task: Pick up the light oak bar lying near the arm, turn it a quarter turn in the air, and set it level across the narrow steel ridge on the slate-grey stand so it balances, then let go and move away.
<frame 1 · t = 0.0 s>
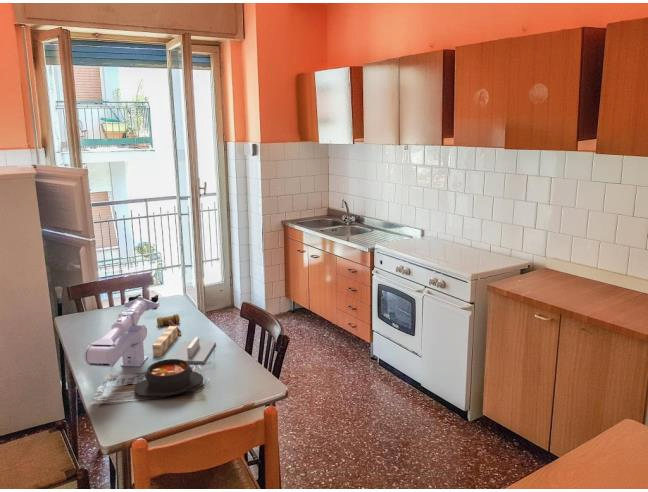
hand: (148, 296, 238), 22 cm above the table, tool horizontal, fingers open, 7 cm apart
fulcrum stand: (193, 353, 232), on the table
gavel: (173, 330, 259), on the table
casserole: (169, 388, 202), on the table
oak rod: (165, 345, 240), on the table
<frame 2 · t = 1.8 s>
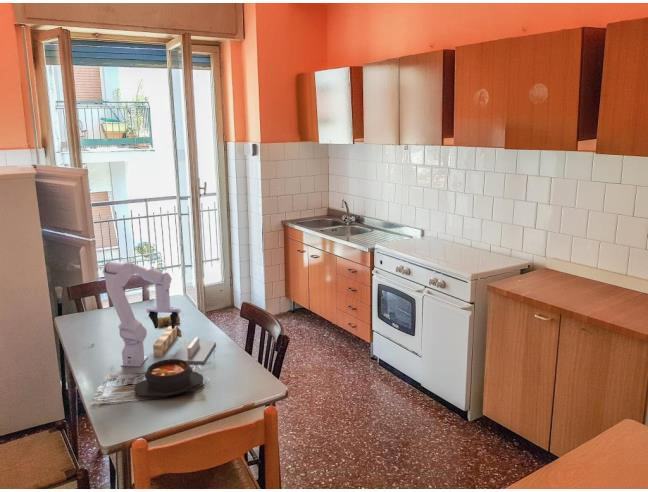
hand: (164, 328, 239), 8 cm above the table, tool pointing down, fingers open, 7 cm apart
nothing on the table moved.
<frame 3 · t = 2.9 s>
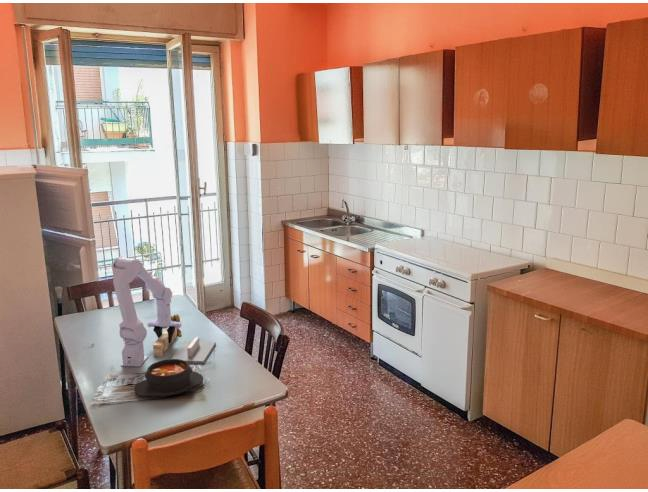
hand: (165, 342, 240), 1 cm above the table, tool pointing down, fingers closed on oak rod, 4 cm apart
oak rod: (165, 345, 240), on the table, touching gripper
everything else where it was.
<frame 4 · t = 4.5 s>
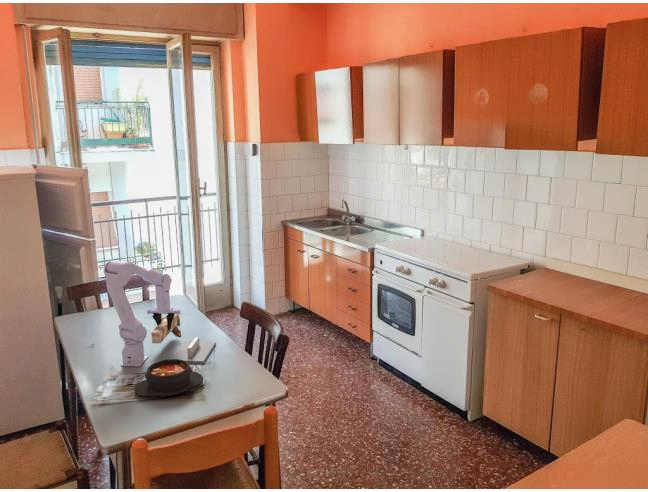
hand: (164, 329, 239), 8 cm above the table, tool pointing down, fingers closed on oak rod, 3 cm apart
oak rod: (165, 333, 239), point 6 cm above the table, touching gripper
everything else where it was.
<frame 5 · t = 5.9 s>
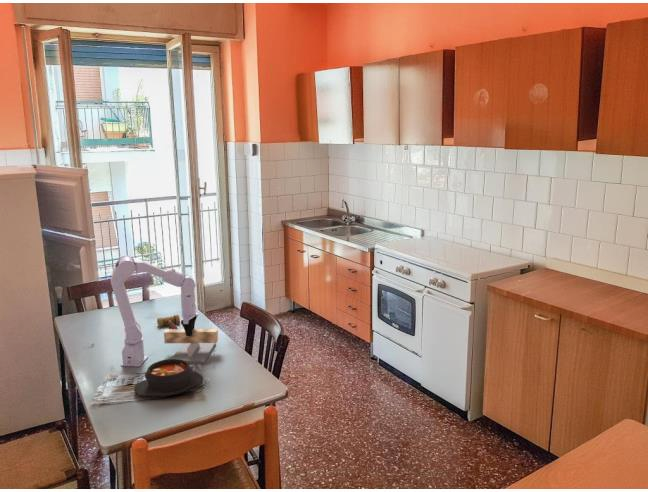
hand: (190, 334, 231), 8 cm above the table, tool pointing down, fingers closed on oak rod, 3 cm apart
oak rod: (191, 341, 232), point 5 cm above the table, touching gripper
everything else where it was.
when the fingers open (7 cm above the table, at t = 6.9 s): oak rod stays where it is, resting on fulcrum stand.
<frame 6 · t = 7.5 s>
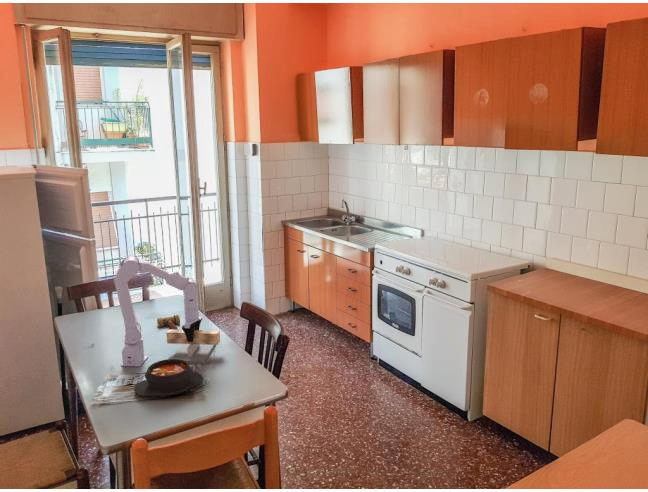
hand: (193, 338, 230), 7 cm above the table, tool pointing down, fingers open, 7 cm apart
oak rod: (193, 342, 231), point 5 cm above the table, touching fulcrum stand
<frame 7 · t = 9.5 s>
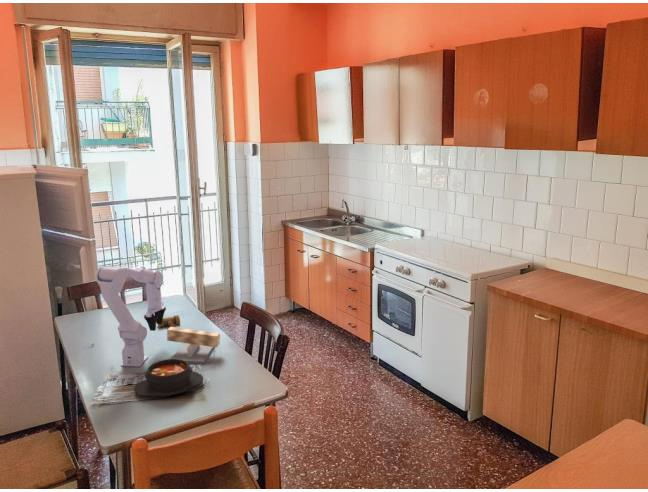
hand: (156, 327, 236), 10 cm above the table, tool pointing down, fingers open, 7 cm apart
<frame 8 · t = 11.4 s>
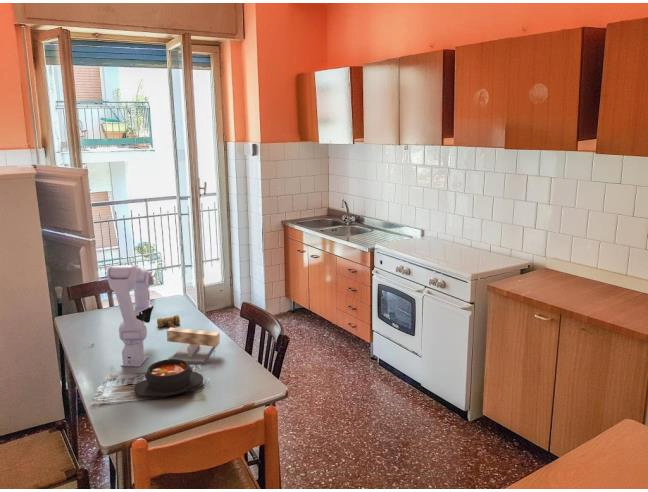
hand: (143, 325, 238), 9 cm above the table, tool pointing down, fingers open, 7 cm apart
at the end: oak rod 0.0 cm off-centre on the fulcrum stand, point 5.0 cm above the fulcrum stand's base; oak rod tilted 3°; the gripper is holding nothing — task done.
